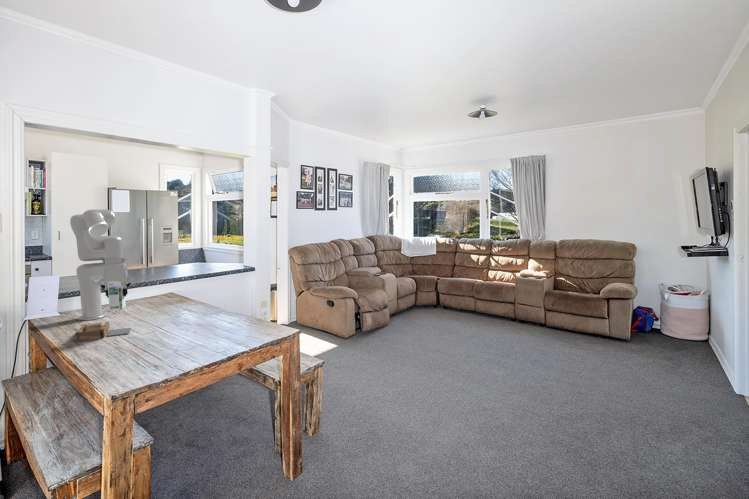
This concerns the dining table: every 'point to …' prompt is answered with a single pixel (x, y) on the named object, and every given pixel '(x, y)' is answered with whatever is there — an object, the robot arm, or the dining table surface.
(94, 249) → the robot arm
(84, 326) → the rack
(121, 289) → the syrup box
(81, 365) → the dining table surface
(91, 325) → the offcut upper
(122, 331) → the mat
